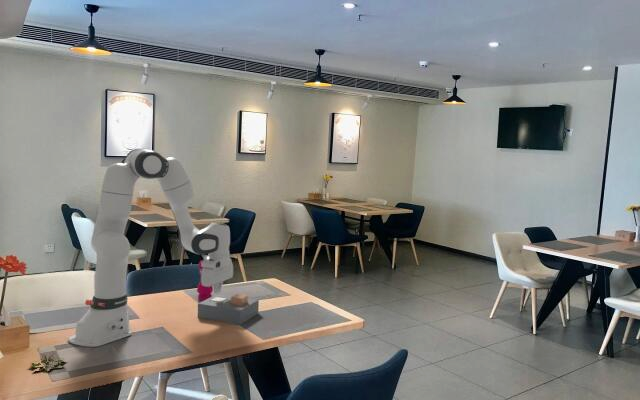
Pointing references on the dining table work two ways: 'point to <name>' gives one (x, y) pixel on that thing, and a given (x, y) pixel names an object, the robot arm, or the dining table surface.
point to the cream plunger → (218, 299)
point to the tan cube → (239, 299)
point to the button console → (227, 310)
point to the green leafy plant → (47, 362)
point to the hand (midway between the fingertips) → (217, 292)
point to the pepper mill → (203, 287)
